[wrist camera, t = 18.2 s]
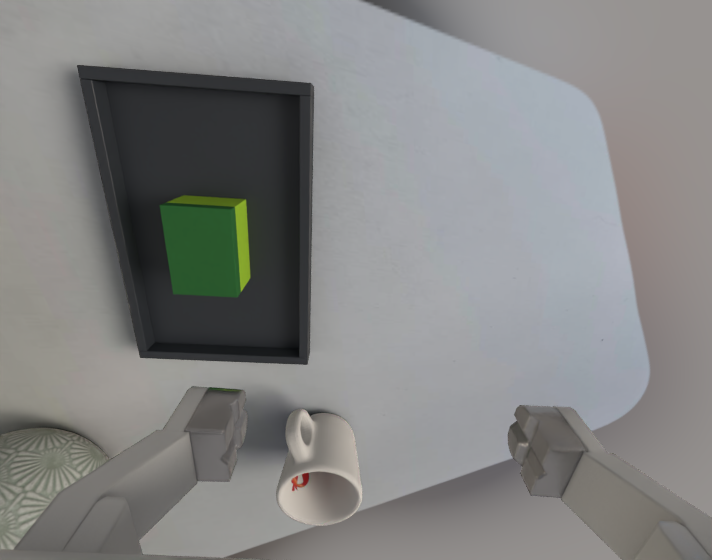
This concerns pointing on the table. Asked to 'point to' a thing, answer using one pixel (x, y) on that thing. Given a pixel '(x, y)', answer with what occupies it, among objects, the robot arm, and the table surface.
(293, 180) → the tray
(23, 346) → the table surface
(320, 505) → the cup
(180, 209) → the sponge
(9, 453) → the planter
